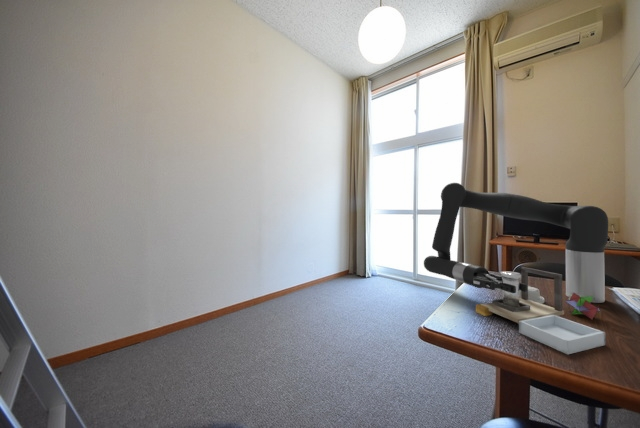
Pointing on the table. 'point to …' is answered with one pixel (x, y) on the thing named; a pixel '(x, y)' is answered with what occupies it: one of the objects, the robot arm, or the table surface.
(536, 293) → the mechanical component
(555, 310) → the dolly
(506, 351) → the table surface
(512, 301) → the pin
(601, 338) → the tray
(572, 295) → the geometric puzzle
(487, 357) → the table surface
